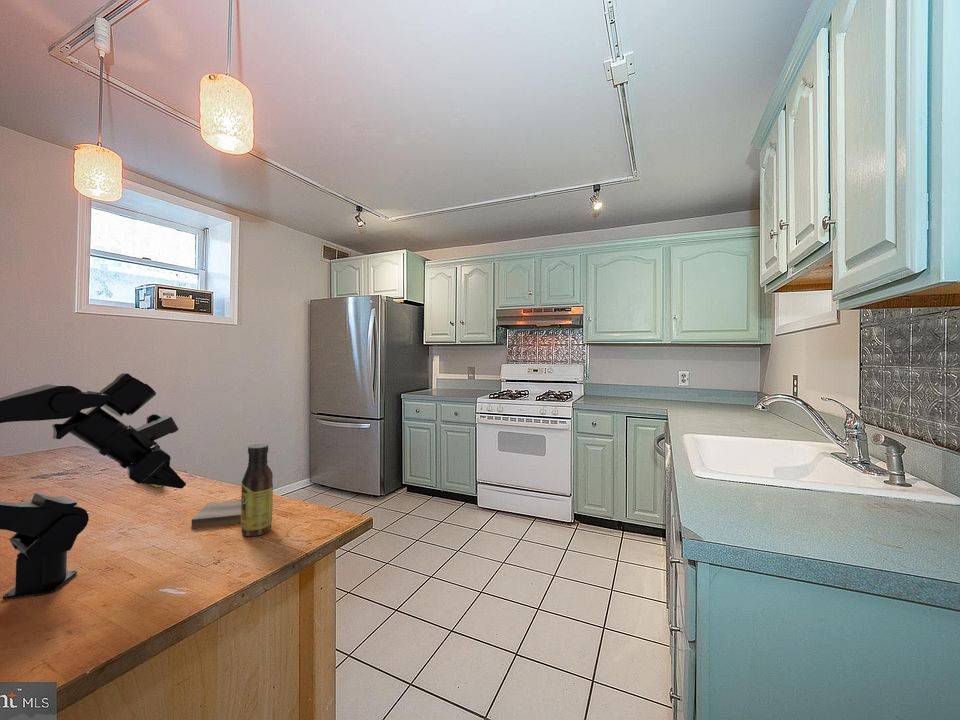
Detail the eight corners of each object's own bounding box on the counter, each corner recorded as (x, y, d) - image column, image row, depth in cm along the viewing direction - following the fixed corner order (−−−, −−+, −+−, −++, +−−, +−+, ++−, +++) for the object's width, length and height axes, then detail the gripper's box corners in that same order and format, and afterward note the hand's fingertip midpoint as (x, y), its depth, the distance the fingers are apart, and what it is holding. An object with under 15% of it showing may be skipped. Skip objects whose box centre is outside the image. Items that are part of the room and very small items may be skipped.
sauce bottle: (243, 528, 91) (245, 442, 91) (273, 524, 93) (275, 441, 93) (237, 540, 85) (239, 449, 85) (269, 536, 87) (271, 447, 87)
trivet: (245, 522, 94) (245, 514, 94) (191, 528, 90) (191, 519, 90) (255, 506, 104) (255, 498, 104) (207, 510, 101) (207, 503, 101)
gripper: (155, 407, 71) (224, 457, 79) (142, 399, 84) (202, 443, 92) (94, 457, 66) (174, 506, 74) (89, 440, 78) (158, 483, 86)
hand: (179, 481), depth 82 cm, fingers open, 9 cm apart
